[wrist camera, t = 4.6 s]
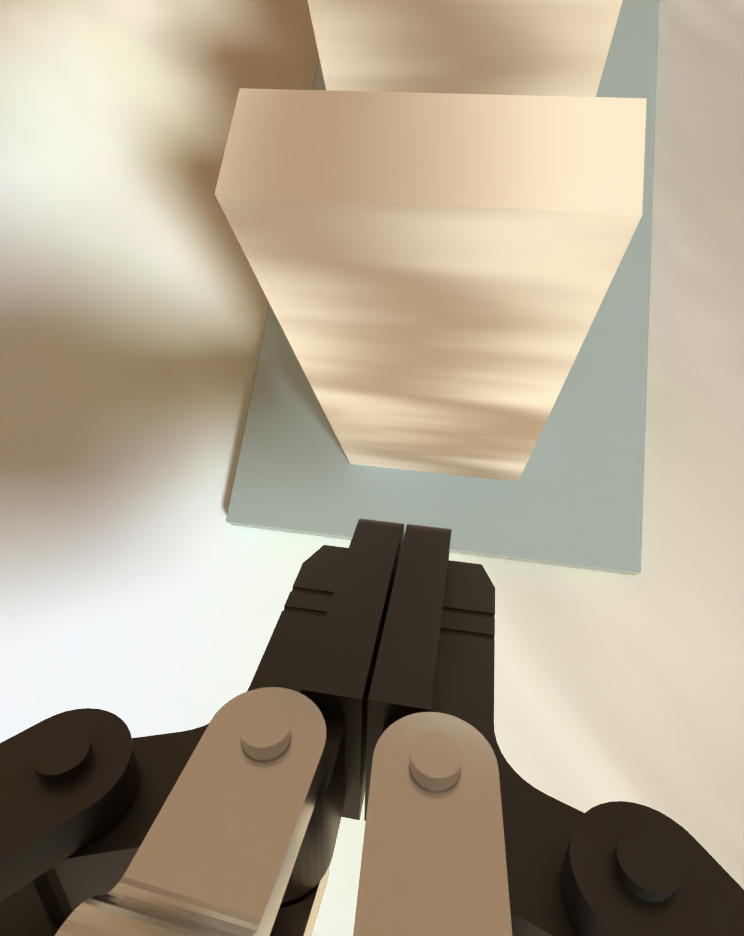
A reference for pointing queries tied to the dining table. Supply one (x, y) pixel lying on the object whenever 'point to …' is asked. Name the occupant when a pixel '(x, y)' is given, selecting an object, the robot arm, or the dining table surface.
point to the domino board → (556, 451)
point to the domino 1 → (464, 45)
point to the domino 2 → (434, 256)
